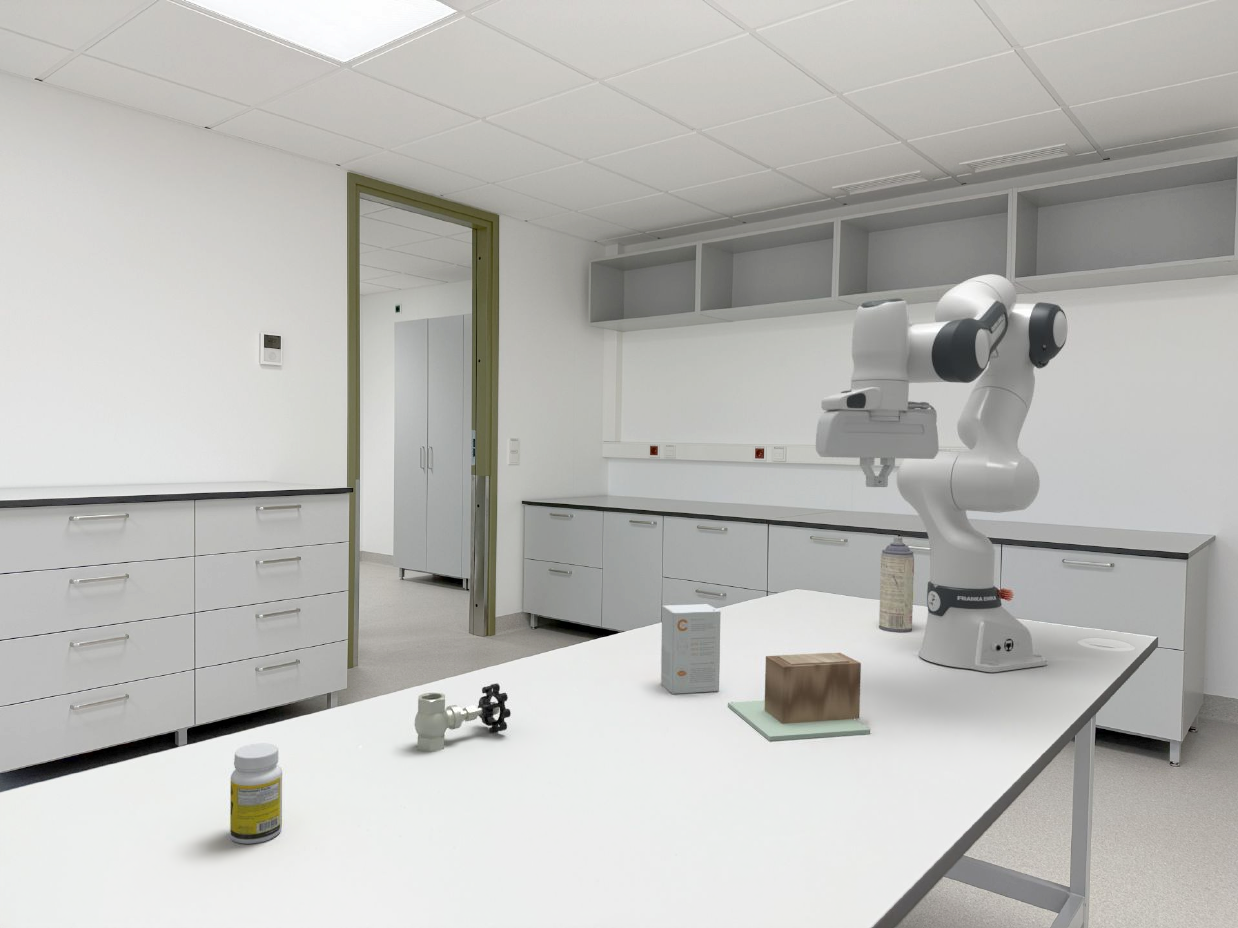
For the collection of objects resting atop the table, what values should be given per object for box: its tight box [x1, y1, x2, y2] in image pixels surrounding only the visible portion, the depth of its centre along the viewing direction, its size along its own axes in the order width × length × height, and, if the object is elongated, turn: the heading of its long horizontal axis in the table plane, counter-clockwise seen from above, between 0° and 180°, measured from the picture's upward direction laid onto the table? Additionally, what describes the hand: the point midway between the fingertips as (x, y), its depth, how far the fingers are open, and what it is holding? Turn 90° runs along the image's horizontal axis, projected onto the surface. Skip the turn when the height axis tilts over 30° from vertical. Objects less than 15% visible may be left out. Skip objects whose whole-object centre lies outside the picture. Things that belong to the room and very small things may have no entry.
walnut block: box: [764, 652, 862, 724], centre depth 123 cm, size 8×6×12 cm
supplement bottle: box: [229, 742, 283, 845], centre depth 84 cm, size 5×5×8 cm
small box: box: [660, 603, 721, 695], centre depth 137 cm, size 8×6×13 cm
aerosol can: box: [878, 536, 915, 633], centre depth 185 cm, size 7×7×20 cm
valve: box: [414, 683, 511, 753], centre depth 111 cm, size 7×7×12 cm
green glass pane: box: [727, 699, 871, 742], centre depth 122 cm, size 15×15×1 cm
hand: (876, 487), depth 136 cm, fingers closed
